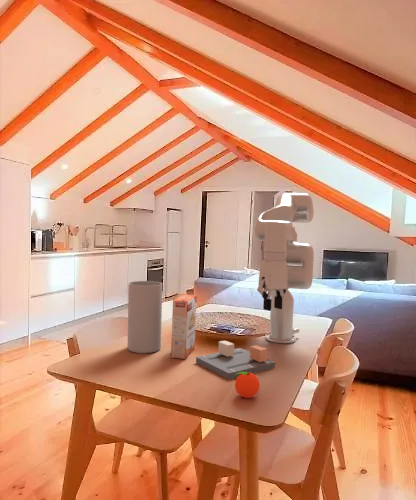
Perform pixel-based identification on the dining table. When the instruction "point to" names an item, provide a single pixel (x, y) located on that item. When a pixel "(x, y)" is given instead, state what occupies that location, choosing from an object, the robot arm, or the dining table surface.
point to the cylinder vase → (144, 316)
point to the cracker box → (183, 326)
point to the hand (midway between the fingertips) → (272, 308)
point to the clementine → (247, 384)
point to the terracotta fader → (258, 353)
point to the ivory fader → (226, 348)
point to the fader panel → (233, 363)
